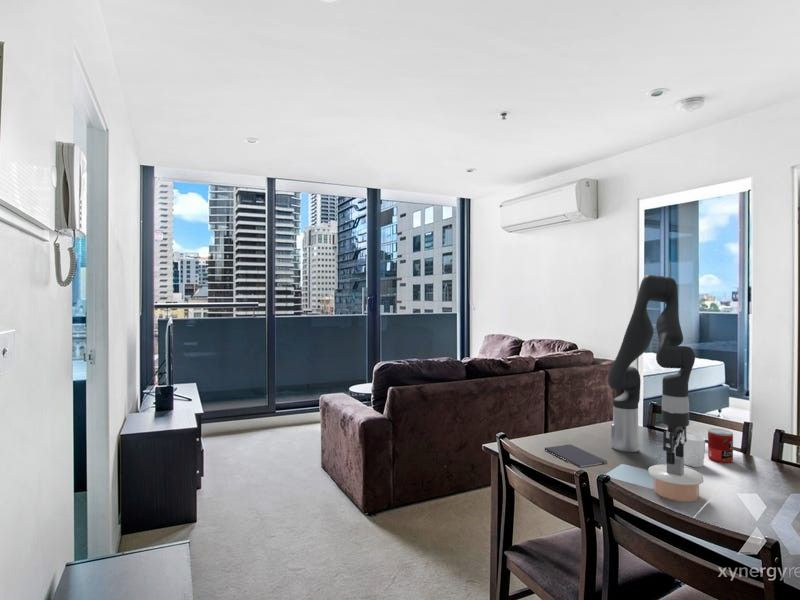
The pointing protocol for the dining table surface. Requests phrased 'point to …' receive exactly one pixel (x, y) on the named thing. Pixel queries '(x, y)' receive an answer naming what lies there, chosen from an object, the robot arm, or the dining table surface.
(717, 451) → the canned food
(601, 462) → the notebook
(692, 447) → the white cup
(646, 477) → the mat
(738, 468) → the dining table surface
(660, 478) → the lid
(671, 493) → the bowl
